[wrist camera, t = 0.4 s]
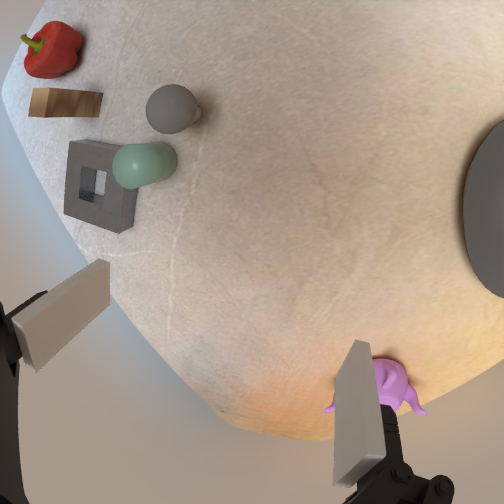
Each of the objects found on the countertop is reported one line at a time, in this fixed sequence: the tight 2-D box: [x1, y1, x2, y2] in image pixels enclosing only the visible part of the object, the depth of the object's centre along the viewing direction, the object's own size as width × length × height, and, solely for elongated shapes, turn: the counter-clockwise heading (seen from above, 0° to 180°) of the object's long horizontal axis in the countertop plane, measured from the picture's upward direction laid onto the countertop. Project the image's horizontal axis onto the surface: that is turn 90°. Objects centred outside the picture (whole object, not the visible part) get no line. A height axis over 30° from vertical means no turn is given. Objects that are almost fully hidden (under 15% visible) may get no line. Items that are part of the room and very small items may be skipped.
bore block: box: [64, 140, 138, 234], centre depth 42 cm, size 12×12×4 cm
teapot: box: [323, 359, 428, 416], centre depth 43 cm, size 12×14×9 cm
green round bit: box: [112, 142, 177, 189], centre depth 37 cm, size 6×6×8 cm
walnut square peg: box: [28, 88, 103, 118], centre depth 34 cm, size 4×4×12 cm
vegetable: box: [21, 21, 82, 79], centre depth 32 cm, size 11×10×10 cm
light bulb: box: [146, 84, 201, 134], centre depth 33 cm, size 6×6×10 cm
